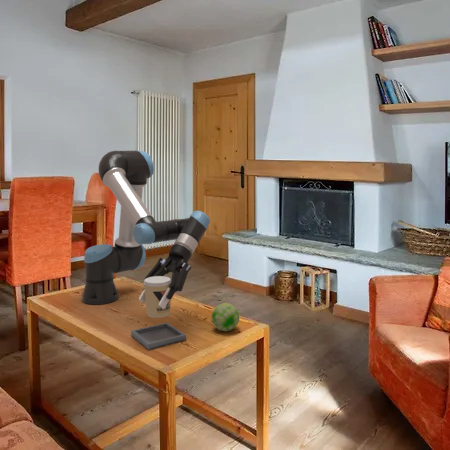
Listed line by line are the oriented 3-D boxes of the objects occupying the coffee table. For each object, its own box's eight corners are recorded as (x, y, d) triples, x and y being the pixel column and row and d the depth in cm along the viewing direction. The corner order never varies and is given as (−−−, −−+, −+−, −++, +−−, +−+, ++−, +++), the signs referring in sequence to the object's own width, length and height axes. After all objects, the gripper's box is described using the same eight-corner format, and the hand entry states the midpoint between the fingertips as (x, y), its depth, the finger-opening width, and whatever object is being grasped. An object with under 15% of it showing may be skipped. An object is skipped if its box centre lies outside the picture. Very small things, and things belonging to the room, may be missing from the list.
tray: (131, 336, 159) (131, 330, 159) (167, 327, 167) (167, 322, 167) (148, 350, 148) (148, 344, 148) (186, 340, 156) (186, 334, 155)
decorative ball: (222, 323, 171) (221, 297, 170) (244, 329, 166) (244, 302, 164) (206, 331, 163) (205, 304, 162) (229, 338, 158) (229, 310, 156)
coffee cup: (156, 320, 149) (155, 284, 148) (139, 314, 156) (137, 279, 154) (178, 313, 156) (177, 278, 155) (160, 307, 162) (159, 274, 161)
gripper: (211, 259, 159) (180, 316, 149) (166, 251, 172) (135, 303, 162) (201, 246, 154) (168, 304, 144) (156, 239, 167) (123, 292, 157)
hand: (151, 303), depth 153 cm, fingers closed on coffee cup, 9 cm apart
